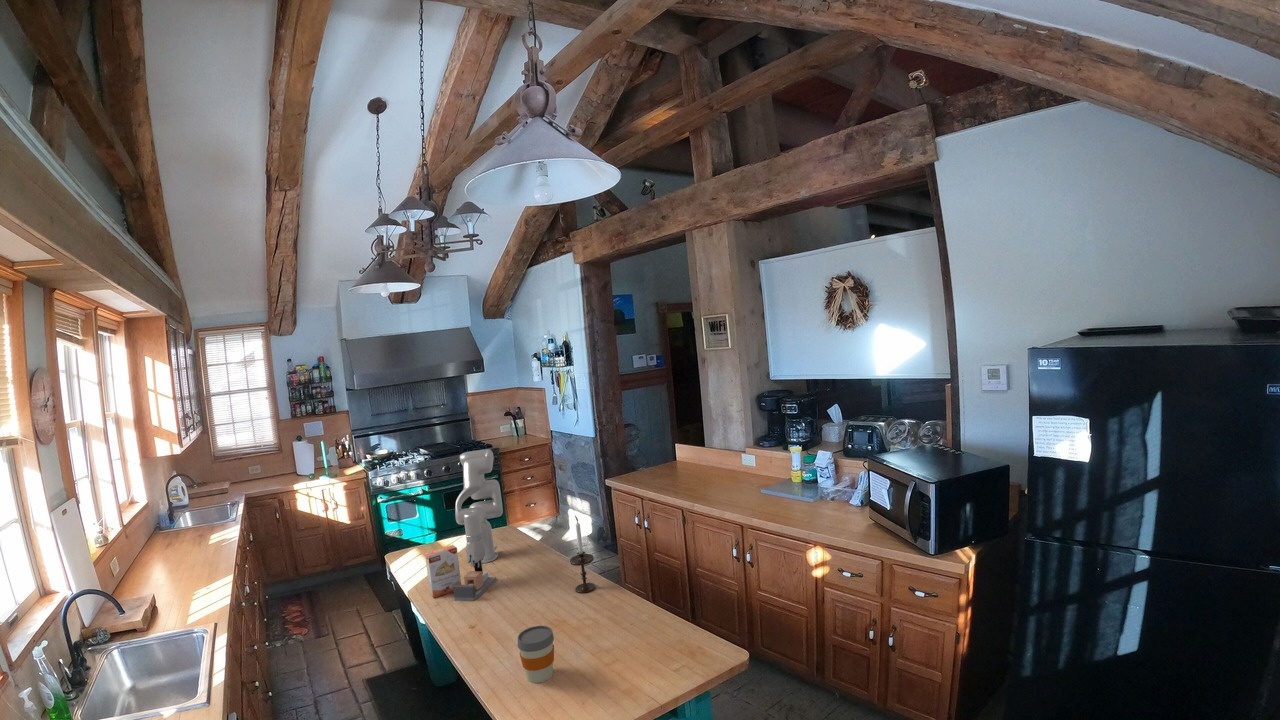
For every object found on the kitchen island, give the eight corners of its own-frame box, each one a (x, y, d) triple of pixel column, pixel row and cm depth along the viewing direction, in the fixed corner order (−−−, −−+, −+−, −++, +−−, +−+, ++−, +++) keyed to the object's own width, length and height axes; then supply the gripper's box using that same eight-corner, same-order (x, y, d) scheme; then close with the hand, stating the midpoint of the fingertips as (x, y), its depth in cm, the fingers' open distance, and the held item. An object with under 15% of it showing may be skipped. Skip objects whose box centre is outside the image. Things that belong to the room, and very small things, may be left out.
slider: (472, 584, 295) (470, 571, 295) (483, 584, 293) (482, 571, 293) (465, 590, 289) (464, 576, 289) (477, 590, 288) (475, 576, 287)
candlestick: (570, 594, 276) (561, 519, 274) (578, 583, 287) (569, 511, 285) (592, 594, 274) (584, 518, 271) (600, 583, 284) (591, 510, 282)
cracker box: (433, 598, 288) (427, 555, 286) (429, 595, 293) (424, 552, 291) (462, 588, 296) (457, 546, 294) (458, 585, 301) (453, 543, 299)
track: (478, 579, 304) (477, 567, 304) (496, 579, 302) (495, 567, 301) (454, 600, 283) (452, 587, 283) (473, 600, 280) (472, 587, 280)
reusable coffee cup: (559, 663, 220) (554, 623, 219) (556, 683, 208) (550, 641, 207) (524, 667, 220) (519, 627, 219) (519, 688, 207) (513, 646, 206)
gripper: (475, 532, 303) (479, 567, 304) (459, 543, 288) (464, 581, 290) (488, 531, 301) (493, 567, 302) (473, 543, 287) (478, 581, 288)
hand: (479, 574), depth 296 cm, fingers closed
